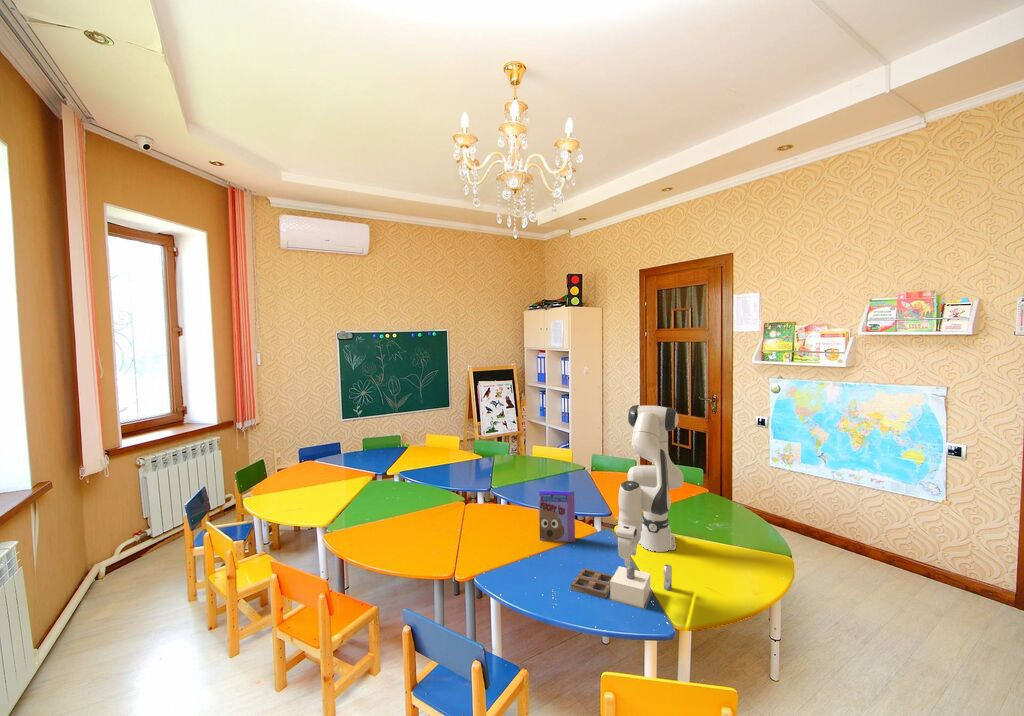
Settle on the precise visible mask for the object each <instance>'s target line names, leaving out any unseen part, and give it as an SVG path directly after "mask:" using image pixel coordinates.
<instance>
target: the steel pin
mask: <svg viewBox="0 0 1024 716" xmlns="http://www.w3.org/2000/svg"><path fill="white" fill-rule="evenodd" d="M663 590H665V591H667V592H670V591H672V590H673V566H672V565H671V564H664V565H663Z"/></svg>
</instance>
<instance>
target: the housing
mask: <svg viewBox="0 0 1024 716" xmlns="http://www.w3.org/2000/svg"><path fill="white" fill-rule="evenodd" d="M650 590H651V573H649V572H645V571H641V570H636V568H635V566H634V565H632V564H630V566H629V567H628V566H625V567H624V566H619V565H618V566H617V569H616V570H615V573H614V575H613V577H612V579H611V581H610V591H609V596H610V599H613V600H616V601H620V602H623V603H627V604H631V605H634V606H638V607H642V608H644V605H645V603H646V600H647V598H648V596H649V593H650Z"/></svg>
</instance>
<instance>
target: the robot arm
mask: <svg viewBox="0 0 1024 716" xmlns="http://www.w3.org/2000/svg"><path fill="white" fill-rule="evenodd" d="M627 420H628V424H629V425H630V426H631V427H633V429H632V435H631V447H632V449H633V451H634V452H635V453H636V454H637V455H638V456H639V457H640V458H642V459H645V460H646V461H649V462H650V463H652V464H653V465H649V464H648V465H647V464H645V465H644V464H640V465H635V466H631V467H630V468H629V469H628V471H627V480H626V481H625V480H624V481H623V482H621V483H620V484H619V485H620V486H619V488H618V489H619V491H618V502H617V503H618V505H617V506H618V508H619V509H618V510H619V512H618V520H617V521H618V522H617V527H616V532H615V533H616V536H617V549H618V556H619V558H621V559H623V561H624V566H625V567H627V566H628V567H629V566H630V565H631V560H630V559H631V556H634V557H635V556H636V555H637V548H638V544H639V545H640V544H641V545H640V546H641V547H642V548H643V547H644V548H643V549H645V550H647V549H648V550H647V551H650V550H651V551H650V552H654V551H656V552H657V553H665V552H669V551H675V549H676V550H677V544H676V543H675V542H676V536H675V534H673V533H672V531H671V525H670V521H669V515H668V512H669V511H670V508H671V502H672V501H671V496H670V490H675V489H680V488H681V487H682V486H683V483H684V479H685V477H684V476H685V475H684V474H683V472H682V470H681V468H679V467H678V466H677V465H675V463H674V462H673V461H672V460H671V458H670V455H669V453H670V452H669V432H671V431H674V430H675V429H677V426H678V424H679V414H678V411H677V410H676V409H675V408H672V407H669V406H668V407H666V406H659V405H640V404H635V405H632V406H630V408H629V409H628V412H627ZM642 512H643V514H642ZM668 550H669V551H668ZM656 552H655V553H656Z"/></svg>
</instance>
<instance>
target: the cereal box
mask: <svg viewBox="0 0 1024 716" xmlns="http://www.w3.org/2000/svg"><path fill="white" fill-rule="evenodd" d="M538 506H539V507H538V513H539V517H538V518H539V541H542V542H543V541H544V542H545V541H546V542H547V541H548V542H561V543H562V542H563V543H564V542H566V543H576V524H575V523H576V522H575V521H576V520H575V518H576V516H575V515H576V514H575V513H576V512H575V509H576V508H575V491H563V490H561V491H560V490H539V492H538Z"/></svg>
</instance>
